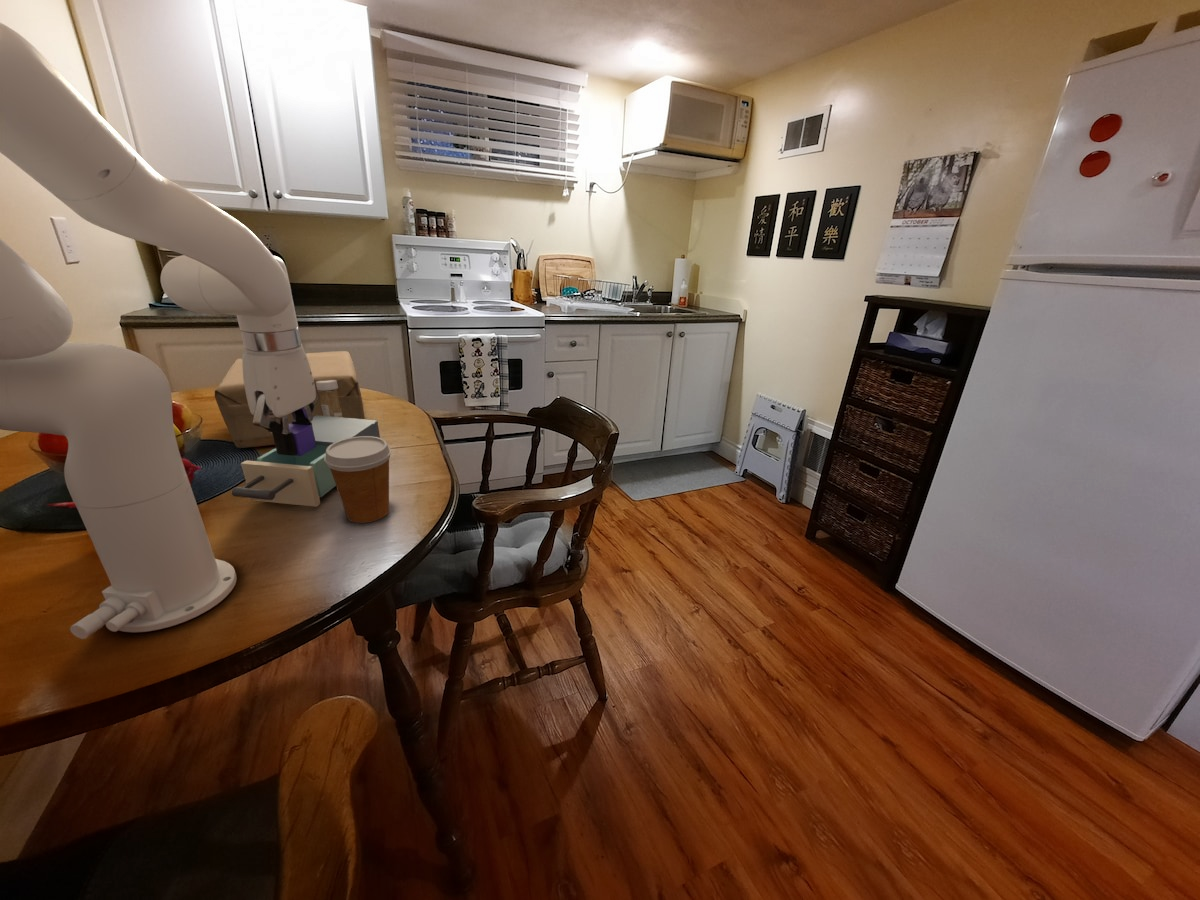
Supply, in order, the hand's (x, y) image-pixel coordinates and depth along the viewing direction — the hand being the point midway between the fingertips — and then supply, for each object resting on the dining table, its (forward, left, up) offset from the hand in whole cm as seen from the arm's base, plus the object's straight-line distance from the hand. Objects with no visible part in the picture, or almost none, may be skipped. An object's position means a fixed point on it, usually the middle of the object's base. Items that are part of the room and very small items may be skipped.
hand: (297, 447), depth 83 cm
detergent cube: (0, 0, 0) cm, 0 cm away
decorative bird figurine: (-14, +16, -9) cm, 23 cm away
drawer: (-3, 0, -8) cm, 8 cm away
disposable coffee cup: (-5, -14, -9) cm, 17 cm away
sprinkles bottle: (+23, +9, -9) cm, 26 cm away
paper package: (+29, +21, -8) cm, 36 cm away
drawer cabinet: (+9, 0, -8) cm, 12 cm away
